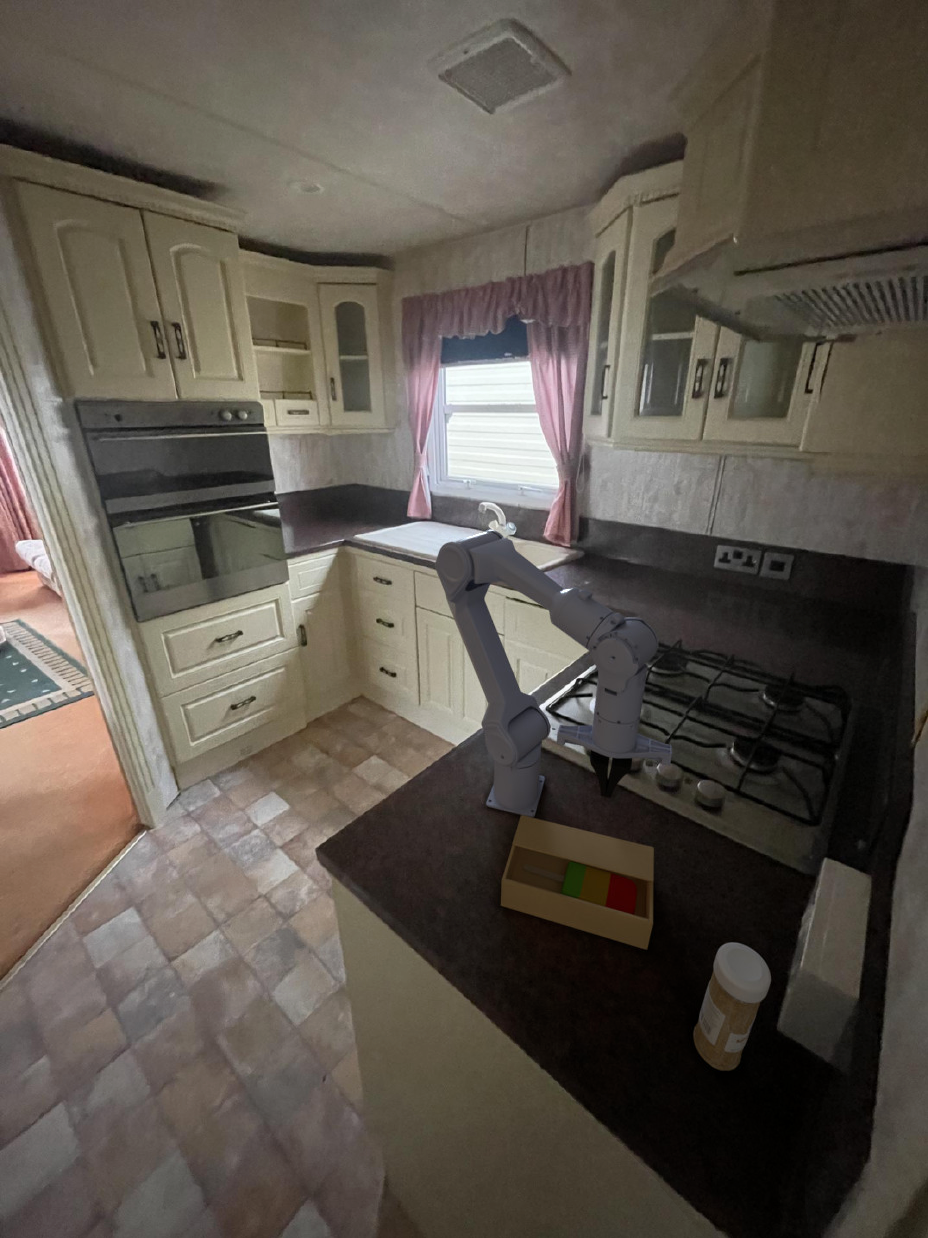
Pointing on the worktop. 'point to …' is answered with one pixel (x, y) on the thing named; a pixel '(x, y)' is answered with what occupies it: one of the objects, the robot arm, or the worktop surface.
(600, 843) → the flap
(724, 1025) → the sprinkles bottle
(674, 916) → the worktop surface
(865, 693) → the worktop surface
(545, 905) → the carton
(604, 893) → the popsicle
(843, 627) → the worktop surface
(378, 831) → the worktop surface
